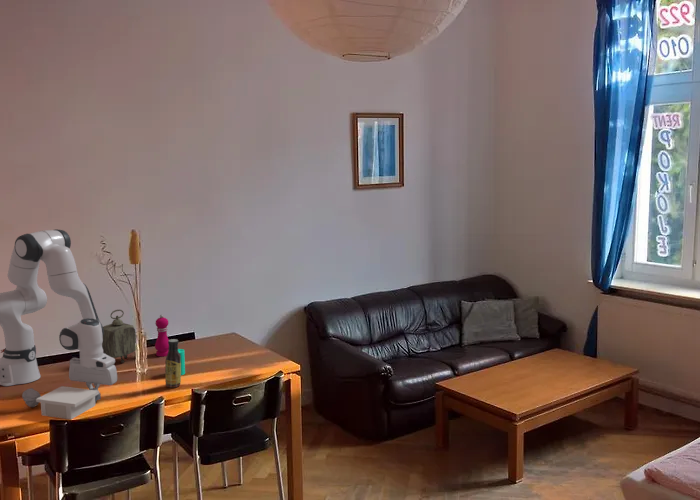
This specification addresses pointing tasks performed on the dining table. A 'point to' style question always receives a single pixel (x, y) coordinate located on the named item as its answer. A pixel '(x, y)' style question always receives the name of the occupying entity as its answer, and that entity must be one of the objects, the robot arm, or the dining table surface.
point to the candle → (182, 360)
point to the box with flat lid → (67, 402)
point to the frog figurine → (31, 397)
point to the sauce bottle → (173, 365)
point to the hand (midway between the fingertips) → (93, 392)
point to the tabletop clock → (118, 338)
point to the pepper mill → (162, 337)
